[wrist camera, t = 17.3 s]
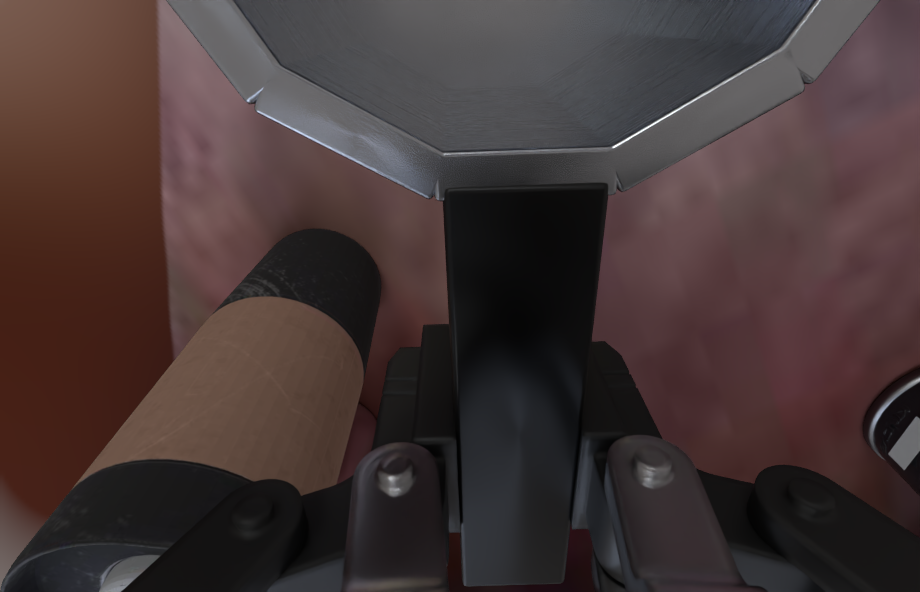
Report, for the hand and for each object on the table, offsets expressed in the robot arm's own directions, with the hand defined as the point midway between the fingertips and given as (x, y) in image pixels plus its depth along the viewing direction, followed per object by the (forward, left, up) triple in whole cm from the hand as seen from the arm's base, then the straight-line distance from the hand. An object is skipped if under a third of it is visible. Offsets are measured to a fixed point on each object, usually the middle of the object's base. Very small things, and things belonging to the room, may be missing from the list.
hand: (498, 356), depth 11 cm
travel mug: (+9, +7, -18) cm, 22 cm away
